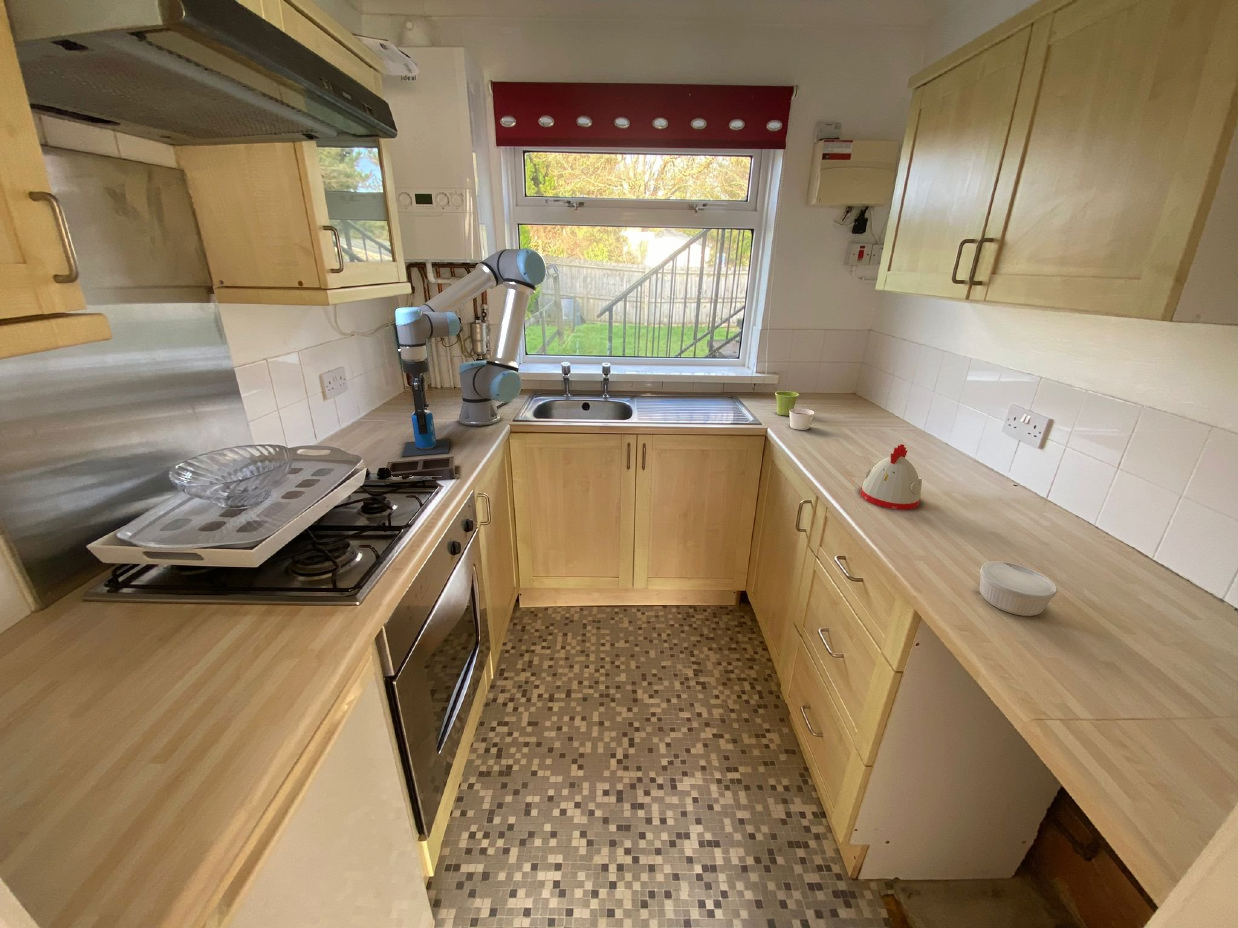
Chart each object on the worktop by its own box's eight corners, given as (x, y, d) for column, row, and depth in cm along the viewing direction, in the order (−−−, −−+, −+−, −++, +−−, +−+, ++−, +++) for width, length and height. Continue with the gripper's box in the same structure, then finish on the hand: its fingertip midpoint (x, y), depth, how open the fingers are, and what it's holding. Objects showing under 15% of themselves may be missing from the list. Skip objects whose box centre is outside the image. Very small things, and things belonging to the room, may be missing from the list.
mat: (406, 443, 173) (406, 442, 173) (449, 439, 177) (449, 438, 177) (402, 457, 161) (401, 456, 160) (448, 453, 164) (448, 452, 164)
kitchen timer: (851, 496, 137) (861, 443, 131) (875, 483, 145) (885, 433, 139) (905, 514, 127) (918, 458, 121) (927, 499, 135) (941, 446, 129)
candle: (810, 425, 197) (813, 409, 195) (813, 432, 189) (815, 415, 186) (786, 423, 199) (788, 407, 197) (787, 430, 191) (790, 413, 188)
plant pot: (767, 412, 213) (770, 392, 210) (785, 410, 217) (787, 390, 214) (783, 418, 205) (786, 397, 202) (801, 415, 209) (804, 395, 206)
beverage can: (430, 451, 165) (425, 415, 161) (412, 449, 166) (406, 414, 162) (440, 444, 171) (436, 410, 166) (422, 443, 172) (418, 408, 168)
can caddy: (389, 472, 149) (387, 461, 148) (455, 466, 154) (453, 456, 153) (385, 485, 140) (383, 474, 139) (454, 478, 145) (453, 468, 144)
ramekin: (1050, 600, 95) (1059, 576, 93) (1045, 629, 87) (1055, 604, 85) (979, 576, 102) (986, 554, 100) (968, 602, 94) (976, 578, 92)
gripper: (404, 354, 166) (414, 422, 174) (398, 365, 148) (409, 440, 157) (429, 354, 168) (437, 421, 176) (425, 364, 150) (434, 438, 159)
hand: (424, 430), depth 166 cm, fingers closed on beverage can, 6 cm apart
